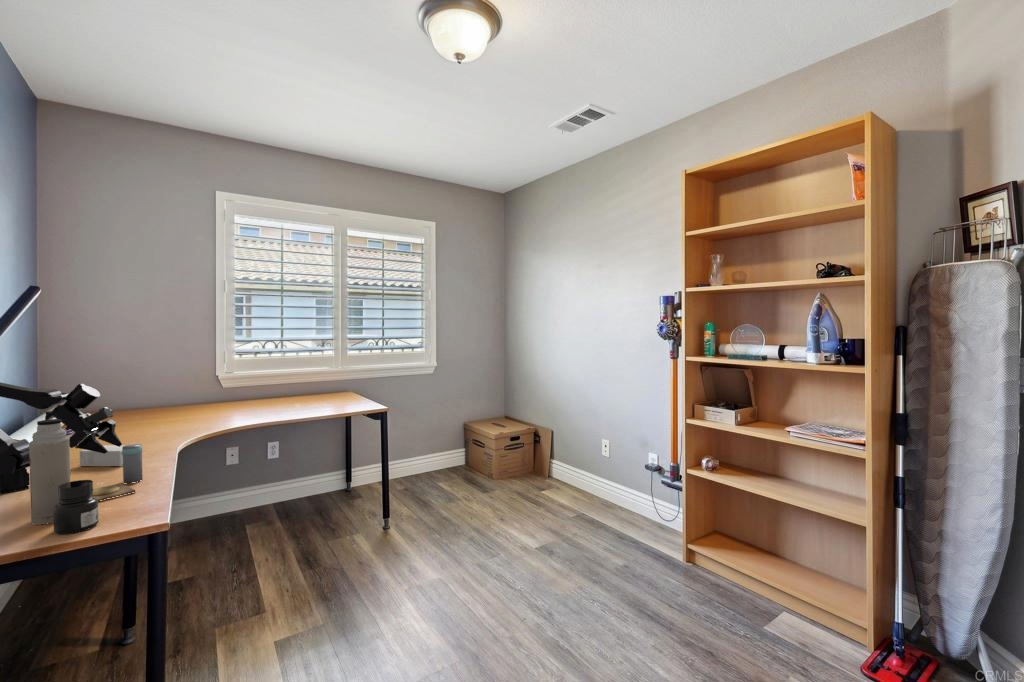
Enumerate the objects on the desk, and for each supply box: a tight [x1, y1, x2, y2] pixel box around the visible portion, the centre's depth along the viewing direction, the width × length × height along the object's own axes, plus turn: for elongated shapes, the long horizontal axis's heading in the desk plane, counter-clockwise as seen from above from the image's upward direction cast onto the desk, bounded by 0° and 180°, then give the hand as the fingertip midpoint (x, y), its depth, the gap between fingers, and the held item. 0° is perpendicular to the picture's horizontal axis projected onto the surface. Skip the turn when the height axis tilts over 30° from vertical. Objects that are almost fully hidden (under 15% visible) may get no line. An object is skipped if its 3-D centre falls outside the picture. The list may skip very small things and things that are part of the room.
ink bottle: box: [53, 479, 100, 535], centre depth 126 cm, size 10×9×12 cm
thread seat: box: [92, 482, 136, 501], centre depth 150 cm, size 12×12×2 cm
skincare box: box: [79, 444, 127, 467], centre depth 182 cm, size 8×7×16 cm
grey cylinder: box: [122, 443, 143, 484], centre depth 162 cm, size 5×5×12 cm
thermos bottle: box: [29, 418, 71, 525], centre depth 131 cm, size 8×8×28 cm
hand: (113, 448), depth 161 cm, fingers open, 9 cm apart
